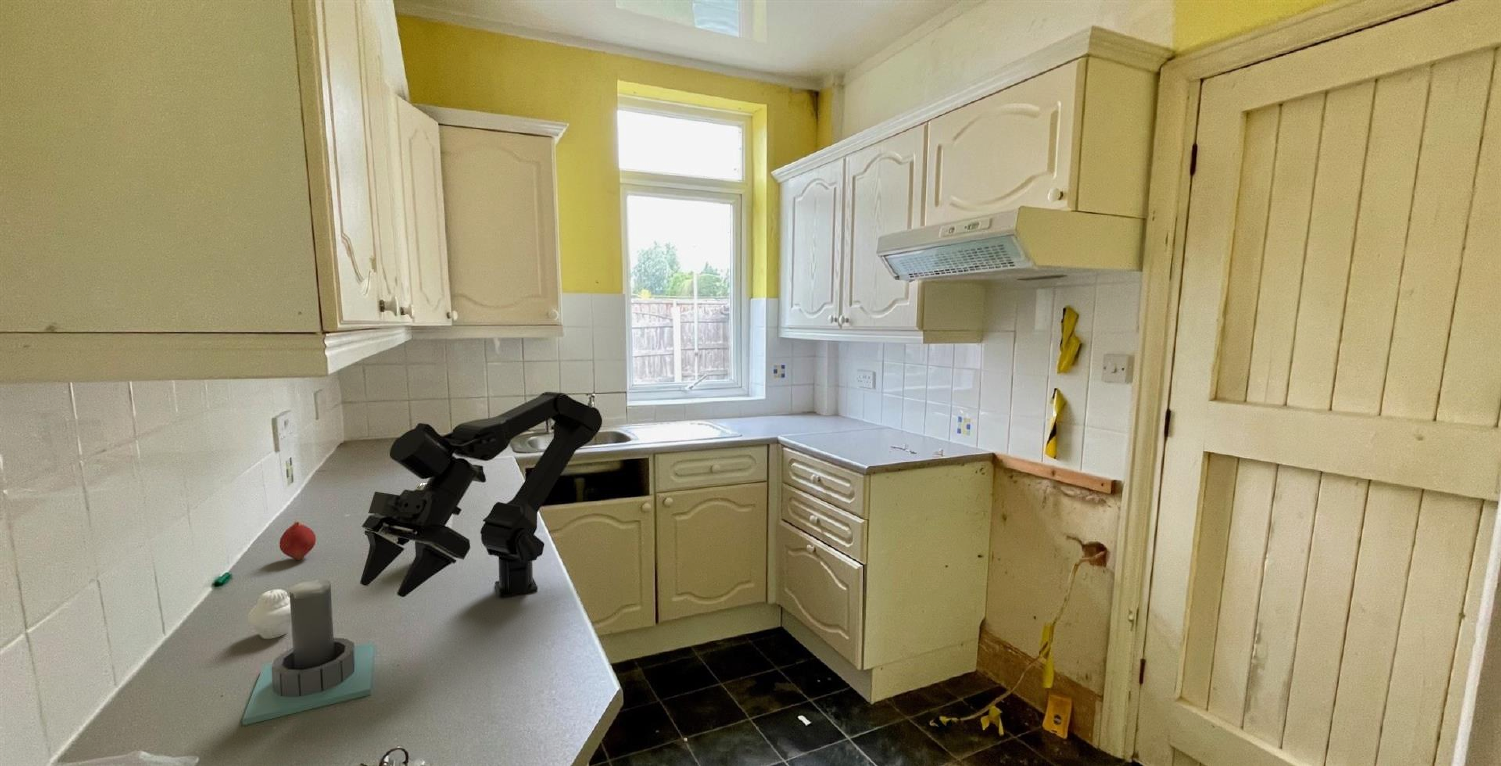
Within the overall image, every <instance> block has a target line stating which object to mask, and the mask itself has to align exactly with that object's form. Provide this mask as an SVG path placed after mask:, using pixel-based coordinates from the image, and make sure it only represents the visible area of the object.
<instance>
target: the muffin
mask: <svg viewBox="0 0 1501 766" xmlns="http://www.w3.org/2000/svg"><path fill="white" fill-rule="evenodd" d="M257 599H258V600H257V603H256V604H255V606H254V607H253V608H252V609H251V610H250V611H249V613H248V614H247V621H248V622H249V623H250V626H251V627H252V628H253V630H255V631H256V632H257V634H258V635H259V636H260V638H262V639H267V640H268V639H269V640H271V639H276V638H279V637H281V636H284V635H286V634H287V633H288V632H289V630H290V628H292V625H291V609H290V596H288V593H287V592H286V591H285V590H283V589H280V588H279V589H271V590H268V591H265V592H264V593H262V594H261V595H260V596H259V597H258V598H257Z"/></svg>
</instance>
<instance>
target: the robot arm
mask: <svg viewBox="0 0 1501 766" xmlns="http://www.w3.org/2000/svg"><path fill="white" fill-rule="evenodd" d="M549 420H551V421H552V422H554V423H553V437H552V439H551V441H550V443H549V444H548V445H547V447H546V448H545V450H544V452H543V453H542V454H541V456H540V458H539V459H538V460H537V463H536V464H535V465H534V466H533V468H532V470H531V471H530V473H529V474H528V476H527V477H526V479H525V480H524V482H523V483H522V485H521V487H520V488H519V490H518V491H517V492H516V494H515V495H514V497H513V498H512V499H510V500H509V501H508V502H506V503H504V502H501V501H497V502H495V503H494V505H493V506H492V508H491V510H490V512H489V513H488V515H487V516H486V517H485V518H483V519H482V521H483V522H484V523H483V525H482V527H481V529H480V540H481V544H482V545H483V546H484V548H486V552H487V554H488V555H489V556H493V557H494V556H495V557H498V580H496V581H495V582H494V587H495V589H496V592H497V595H498V597H499V598H506V597H512V596H518V595H522V594H526V593H527V594H528V593H532V592H537V591H538V589H539V588H538V585H537V583H536V581H535V579H534V577H533V575H534V573H533V572H534V571H533V570H534V569H533V566H534V565H533V561H536V560H537V559H538V558H539V557H541V556H543V551H544V547H545V542H543V540H541V539H540V538H539V537H538V536H536V535H535V533H536V532H537V529H538V512H539V511H540V509H541V507H542V505H543V504H544V502H545V501H546V499H547V497H548V496H549V494H550V493H551V491H552V489H553V488H554V486H555V484H556V483H557V481H558V480H559V478H560V477H561V474H563V472H564V470H565V468H566V467H567V466H568V464H569V463H570V461H571V459H572V457H573V456H574V454H575V453H576V451H578V449H580V448H582V447H584V446H585V445H587V444H589V443H590V442H591V441H592V440H593V439H594V437H596V435H597V434H598V433H599V432H600V429H602V425H603V417H602V415H601V413H600V410H599V409H598V408H597V407H594V406H590V405H587V404H586V403H583V402H580V401H578V400H576V399H575V398H572V397H570V396H569V395H567V394H566V393H564V392H559V391H558V392H557V391H544V392H542V393H540V395H539V396H537V397H535V398H532V399H531V400H528V401H526V402H523V403H522V404H520V405H518V406H516V407H513V408H512V409H509V410H507V411H505V412H503V413H501V414H499V415H497V416H492V417H489V418H487V417H486V418H482V419H481V418H480V419H474V420H470V421H466V422H463V423H459V424H458V425H456V426H455V427H454V428H453V429H452V431H451V432H449V433H445V434H443V435H441V434H439V432H437V431H436V429H435V428H434V426H431V425H430V424H429V423H424V422H423V423H422V422H418V423H417V425H416V426H415V428H413V429H410V430H408V431H406V432H405V433H403V434H402V435H401V436H399V437H398V438H396V439H395V440H394V442H393V444H392V445H391V447H390V449H389V456H390V459H391V460H393V461H394V462H396V464H398V465H400V466H401V467H403V468H405V469H406V470H407V471H408V472H410V473H411V474H413V475H414V476H415V477H417V478H419V479H421V480H427V479H428V481H427V482H425V483H426V485H425V486H424V488H423V489H422V490H418V489H414V490H410V489H404V490H403V491H402V492H401V493H400V494H394V493H388V492H381V491H374V493H373V497H372V500H371V503H370V506H369V509H368V514H370V515H368V517H367V518H366V520H365V521H364V522H363V524H362V525H361V527H362V529H364V531H363V533H364V535H365V536H367V539H368V540H367V541H368V544H369V548H368V554H367V556H366V557H367V558H366V559H365V564H364V568H363V571H362V575H361V578H360V581H359V584H360V585H363V586H364V587H368V586H369V585H370V584H371V583H372V582H373V581H374V580H376V579H377V578H378V577H379V576H380V575H381V574H382V572H384V571H385V570H386V569H387V567H389V565H390V564H391V563H392V562H394V561H395V560H396V559H397V558H398V557H399V556H400V554H401V553H402V552H403V551H405V549H406V548H405V547H403V546H405V545H406V544H408V542H410V541H412V542H414V549H415V556H414V559H413V560H412V563H411V565H410V566H409V568H408V570H407V572H406V573H405V576H404V577H403V580H402V581H401V583H400V586H399V588H398V590H397V593H396V595H397V596H399V597H401V598H405V597H407V596H408V595H409V594H410V593H412V592H413V591H414V590H416V589H417V588H418V587H420V586H422V584H424V583H425V582H426V581H428V580H430V578H432V577H433V576H435V575H436V574H438V573H439V572H441V571H442V570H444V569H445V568H447V567H448V566H450V565H452V564H456V562H457V559H459V560H465V558H466V556H467V554H468V553H469V551H470V549H471V545H470V544H471V543H470V541H471V540H470V539H469V538H467V537H466V536H464V535H462V534H461V533H459V532H458V531H456V530H454V529H453V528H452V527H451V528H449V527H447V526H445V525H446V524H447V522H448V520H449V519H450V517H451V515H452V514H453V516H454V515H455V516H459V515H460V513H461V512H462V508H460V507H459V506H458V505H460V503H461V500H462V499H463V498H464V496H465V494H466V493H467V491H468V490H469V487H470V486H471V484H472V482H478V483H486V482H487V478H486V474H485V472H484V466H483V465H478V464H472V463H471V462H470V461H468V459H470V460H478V461H484V462H487V461H491V460H494V458H496V457H497V456H499V455H500V454H501V453H503V452H504V450H506V449H507V448H508V446H509V445H510V443H511V441H512V440H514V438H516V437H518V436H520V435H522V434H523V433H525V432H527V431H529V430H531V429H533V428H535V427H536V426H539V425H541V424H542V423H544V422H546V421H549ZM454 455H455V456H457V458H456V457H455V456H454ZM421 542H422V543H421ZM425 543H426V544H425Z"/></svg>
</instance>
